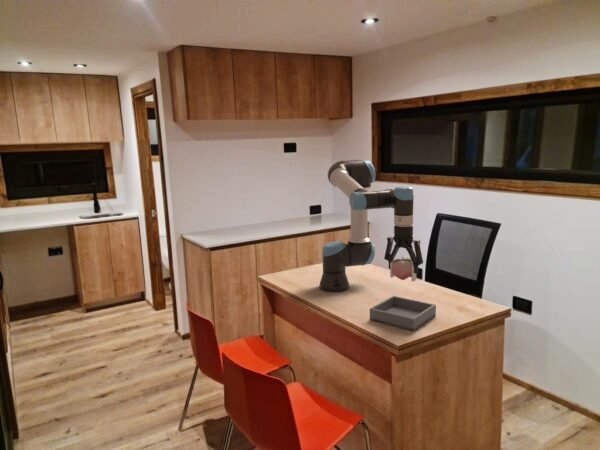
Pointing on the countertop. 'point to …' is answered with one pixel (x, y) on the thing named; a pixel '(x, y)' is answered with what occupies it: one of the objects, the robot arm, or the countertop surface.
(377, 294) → the countertop surface
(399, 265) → the decorative fruit
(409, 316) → the bin
